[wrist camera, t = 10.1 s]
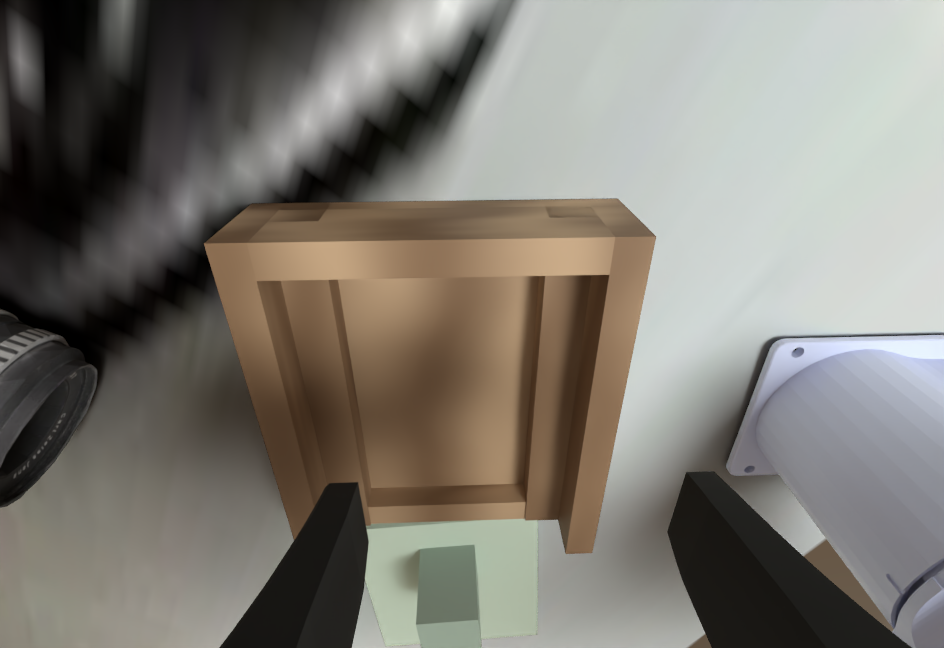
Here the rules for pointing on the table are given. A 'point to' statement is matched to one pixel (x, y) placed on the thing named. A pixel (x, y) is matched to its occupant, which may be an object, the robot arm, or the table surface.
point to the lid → (453, 581)
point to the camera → (37, 402)
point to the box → (438, 352)
